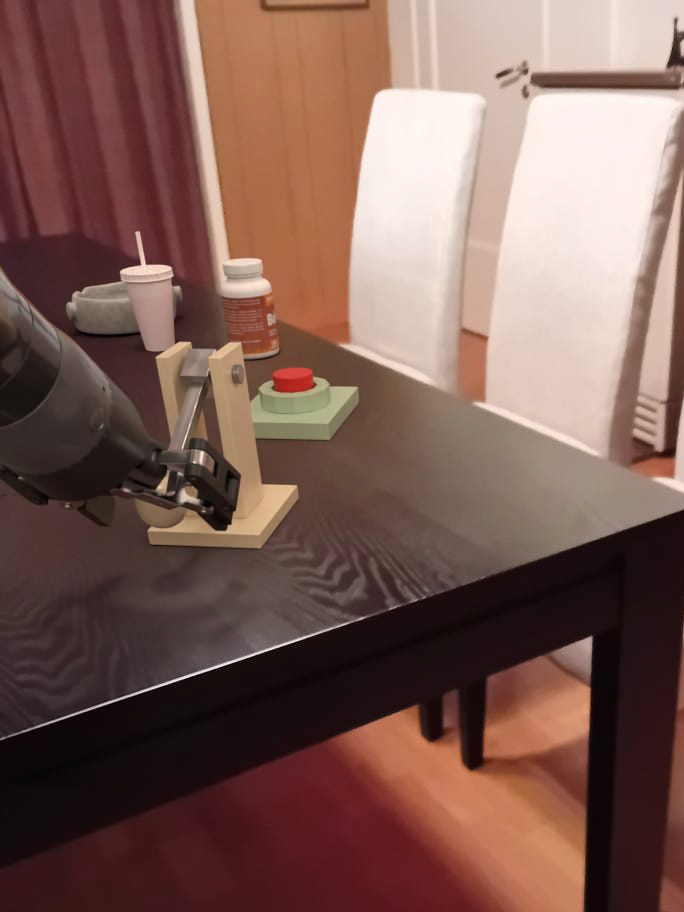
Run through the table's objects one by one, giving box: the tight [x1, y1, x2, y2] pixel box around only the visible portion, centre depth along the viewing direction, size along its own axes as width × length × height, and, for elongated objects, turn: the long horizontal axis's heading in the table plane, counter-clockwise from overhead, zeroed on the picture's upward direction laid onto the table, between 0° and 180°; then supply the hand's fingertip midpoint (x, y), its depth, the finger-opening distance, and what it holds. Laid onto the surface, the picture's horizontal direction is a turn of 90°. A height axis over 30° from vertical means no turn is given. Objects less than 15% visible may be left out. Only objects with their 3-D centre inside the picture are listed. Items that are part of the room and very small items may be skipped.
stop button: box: [272, 366, 314, 393], centre depth 102 cm, size 4×4×2 cm
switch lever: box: [134, 348, 218, 529], centre depth 73 cm, size 15×4×4 cm, turn 172°
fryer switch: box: [146, 341, 300, 549], centre depth 78 cm, size 10×9×14 cm
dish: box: [65, 280, 183, 336], centre depth 140 cm, size 14×14×5 cm
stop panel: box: [250, 376, 360, 441], centre depth 103 cm, size 12×10×4 cm
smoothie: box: [119, 230, 176, 352], centre depth 127 cm, size 6×6×14 cm
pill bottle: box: [219, 257, 280, 360], centre depth 123 cm, size 6×6×11 cm
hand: (166, 516), depth 71 cm, fingers open, 8 cm apart
